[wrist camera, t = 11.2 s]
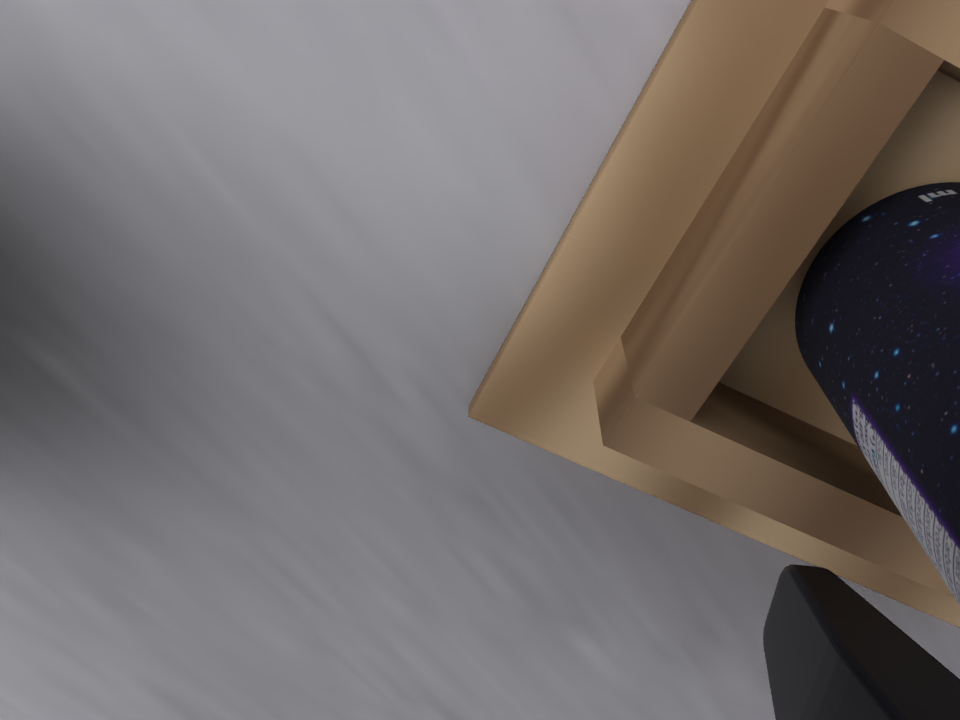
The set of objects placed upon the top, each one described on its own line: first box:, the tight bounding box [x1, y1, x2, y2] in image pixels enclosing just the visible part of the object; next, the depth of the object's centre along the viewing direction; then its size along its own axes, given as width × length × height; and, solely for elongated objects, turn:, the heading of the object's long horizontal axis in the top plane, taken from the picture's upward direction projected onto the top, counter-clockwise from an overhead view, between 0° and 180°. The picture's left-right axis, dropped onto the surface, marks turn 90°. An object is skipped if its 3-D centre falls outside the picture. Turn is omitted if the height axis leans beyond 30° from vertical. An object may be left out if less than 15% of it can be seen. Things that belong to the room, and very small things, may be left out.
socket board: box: [468, 0, 960, 627], centre depth 19 cm, size 16×16×4 cm
